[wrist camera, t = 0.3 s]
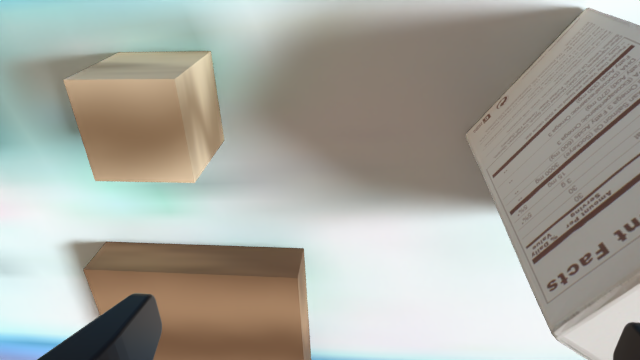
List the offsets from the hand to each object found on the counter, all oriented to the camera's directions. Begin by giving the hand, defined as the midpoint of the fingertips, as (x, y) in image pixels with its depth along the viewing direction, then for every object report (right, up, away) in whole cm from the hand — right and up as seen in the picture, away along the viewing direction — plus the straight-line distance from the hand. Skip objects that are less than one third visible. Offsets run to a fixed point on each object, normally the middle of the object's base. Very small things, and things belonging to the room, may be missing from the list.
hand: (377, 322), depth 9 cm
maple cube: (-8, +7, +14) cm, 17 cm away
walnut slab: (-8, -6, +21) cm, 23 cm away
